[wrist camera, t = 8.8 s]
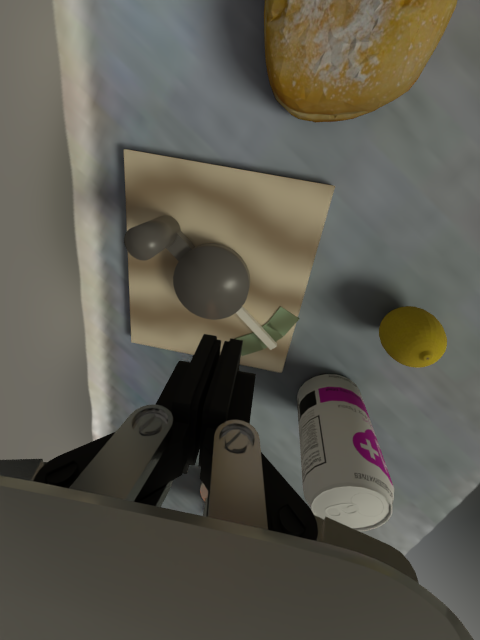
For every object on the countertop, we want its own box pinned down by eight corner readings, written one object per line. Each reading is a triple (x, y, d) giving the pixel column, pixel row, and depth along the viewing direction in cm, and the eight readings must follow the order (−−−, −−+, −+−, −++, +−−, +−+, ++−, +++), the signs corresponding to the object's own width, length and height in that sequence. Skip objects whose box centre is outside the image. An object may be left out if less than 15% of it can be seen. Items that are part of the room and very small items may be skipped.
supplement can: (343, 361, 36) (379, 472, 23) (368, 405, 39) (413, 526, 26) (286, 383, 39) (288, 493, 26) (313, 423, 42) (327, 540, 29)
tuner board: (283, 367, 38) (283, 373, 36) (135, 337, 38) (130, 342, 37) (335, 186, 27) (337, 186, 26) (129, 149, 28) (122, 148, 27)
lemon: (360, 314, 33) (382, 354, 26) (407, 285, 31) (444, 319, 24) (386, 346, 34) (413, 391, 27) (432, 320, 32) (475, 363, 25)
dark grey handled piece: (301, 326, 33) (305, 359, 27) (248, 360, 36) (242, 396, 30) (183, 190, 27) (158, 195, 22) (134, 244, 31) (100, 261, 25)
